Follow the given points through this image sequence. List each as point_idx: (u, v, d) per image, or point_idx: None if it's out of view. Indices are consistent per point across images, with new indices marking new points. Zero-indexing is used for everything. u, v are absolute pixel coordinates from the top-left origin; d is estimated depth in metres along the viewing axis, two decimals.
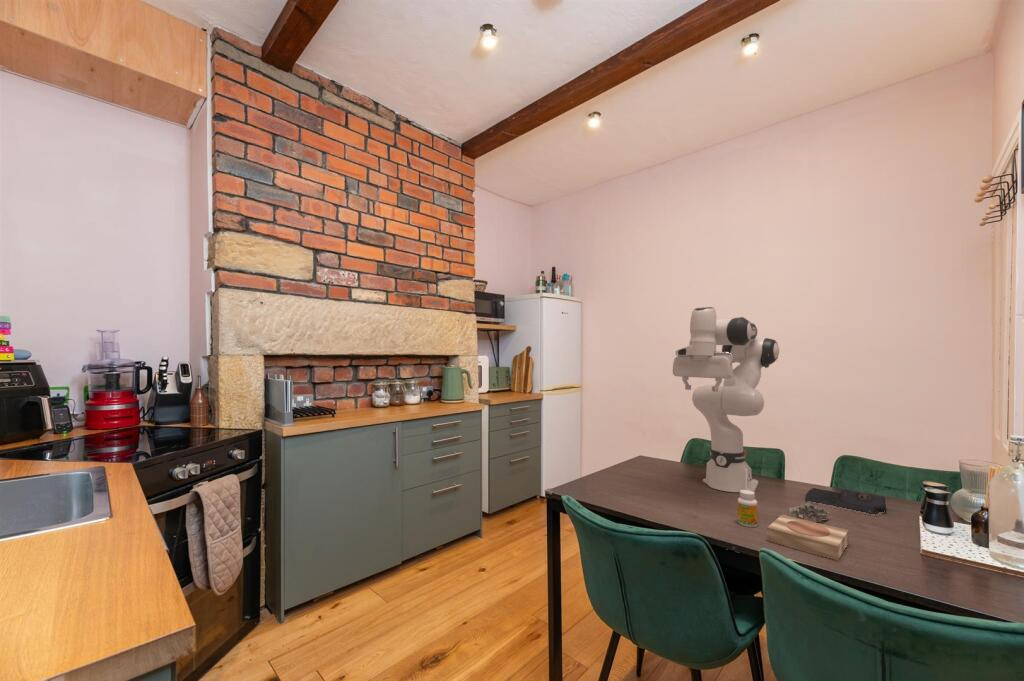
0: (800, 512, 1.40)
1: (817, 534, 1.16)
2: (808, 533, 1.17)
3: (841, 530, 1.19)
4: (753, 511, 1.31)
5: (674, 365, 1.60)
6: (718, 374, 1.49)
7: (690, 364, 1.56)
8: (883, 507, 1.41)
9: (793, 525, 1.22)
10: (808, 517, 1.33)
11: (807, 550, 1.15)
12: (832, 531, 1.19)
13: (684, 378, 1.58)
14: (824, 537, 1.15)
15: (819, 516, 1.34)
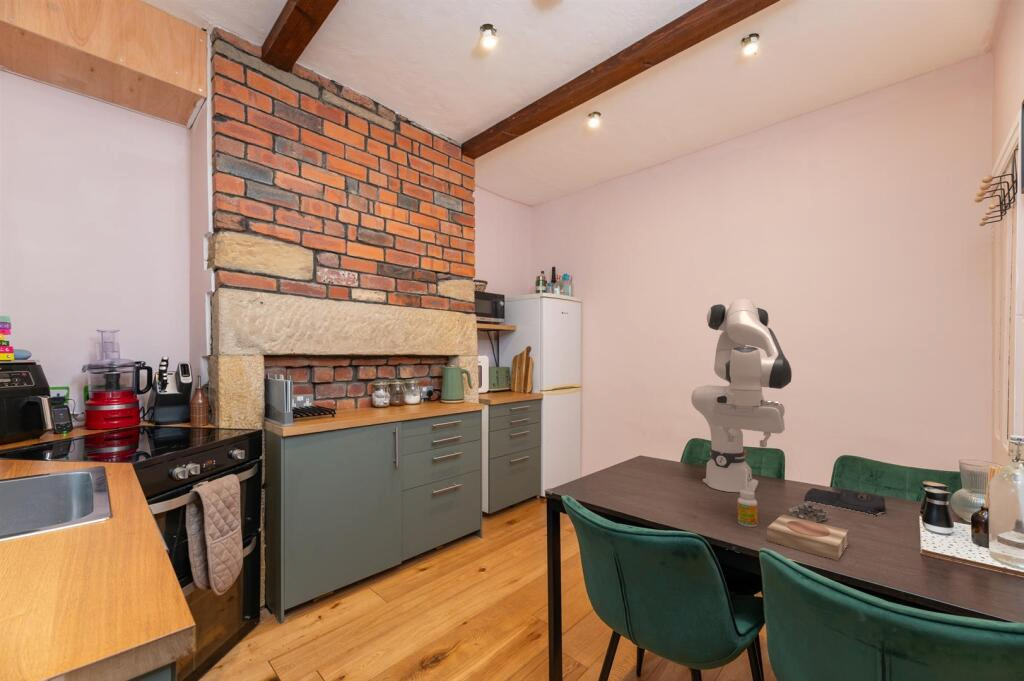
0: (799, 512, 1.40)
1: (817, 534, 1.16)
2: (808, 533, 1.17)
3: (841, 530, 1.19)
4: (753, 511, 1.31)
5: (712, 413, 1.39)
6: (767, 427, 1.28)
7: (732, 414, 1.36)
8: (882, 507, 1.41)
9: (793, 525, 1.22)
10: (808, 517, 1.33)
11: (807, 550, 1.15)
12: (832, 531, 1.19)
13: (725, 429, 1.37)
14: (824, 537, 1.15)
15: (819, 516, 1.34)
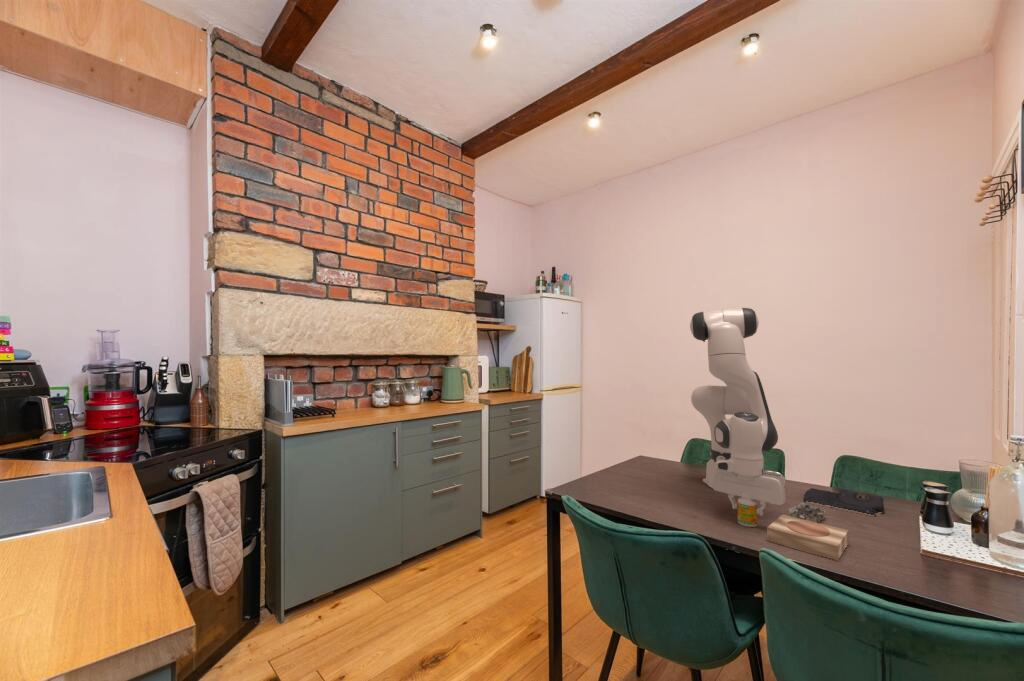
0: (797, 512, 1.40)
1: (817, 534, 1.16)
2: (808, 533, 1.17)
3: (841, 530, 1.19)
4: (753, 511, 1.31)
5: (713, 479, 1.39)
6: (768, 498, 1.28)
7: (733, 480, 1.35)
8: (881, 507, 1.41)
9: (793, 525, 1.22)
10: (809, 517, 1.33)
11: (807, 550, 1.15)
12: (832, 531, 1.19)
13: (731, 496, 1.36)
14: (824, 537, 1.15)
15: (818, 516, 1.34)
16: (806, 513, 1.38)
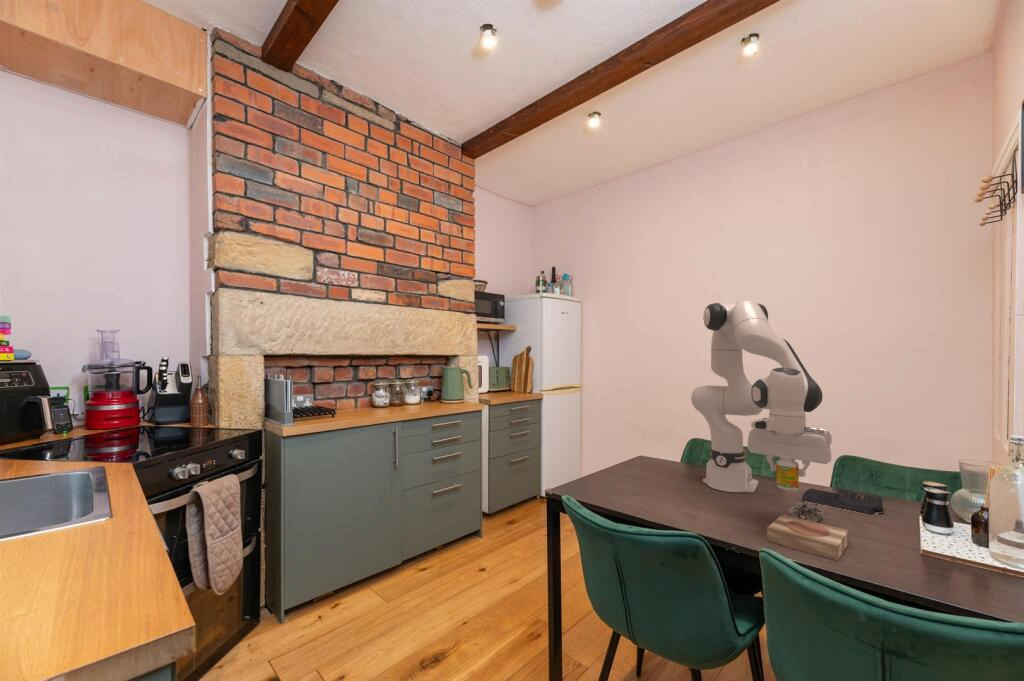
0: None
1: (817, 534, 1.16)
2: (808, 533, 1.17)
3: (841, 530, 1.19)
4: (795, 473, 1.21)
5: (750, 439, 1.30)
6: (812, 457, 1.19)
7: (772, 440, 1.26)
8: (880, 508, 1.41)
9: (793, 525, 1.22)
10: (810, 518, 1.32)
11: (807, 550, 1.15)
12: (832, 531, 1.19)
13: (769, 457, 1.27)
14: (824, 537, 1.15)
15: (818, 515, 1.35)
16: (805, 513, 1.38)
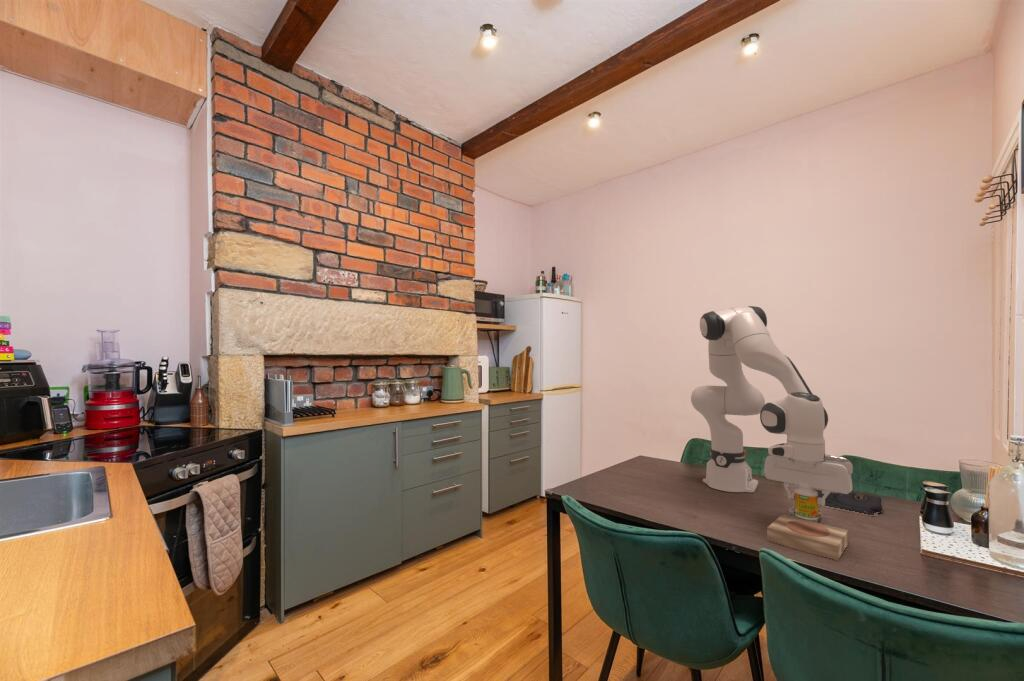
0: None
1: (817, 534, 1.16)
2: (808, 533, 1.17)
3: (841, 530, 1.19)
4: (814, 503, 1.18)
5: (766, 466, 1.26)
6: (832, 486, 1.15)
7: (790, 467, 1.22)
8: (879, 508, 1.41)
9: (793, 525, 1.22)
10: None
11: (807, 550, 1.15)
12: (832, 531, 1.19)
13: (787, 484, 1.23)
14: (824, 537, 1.15)
15: None
16: None
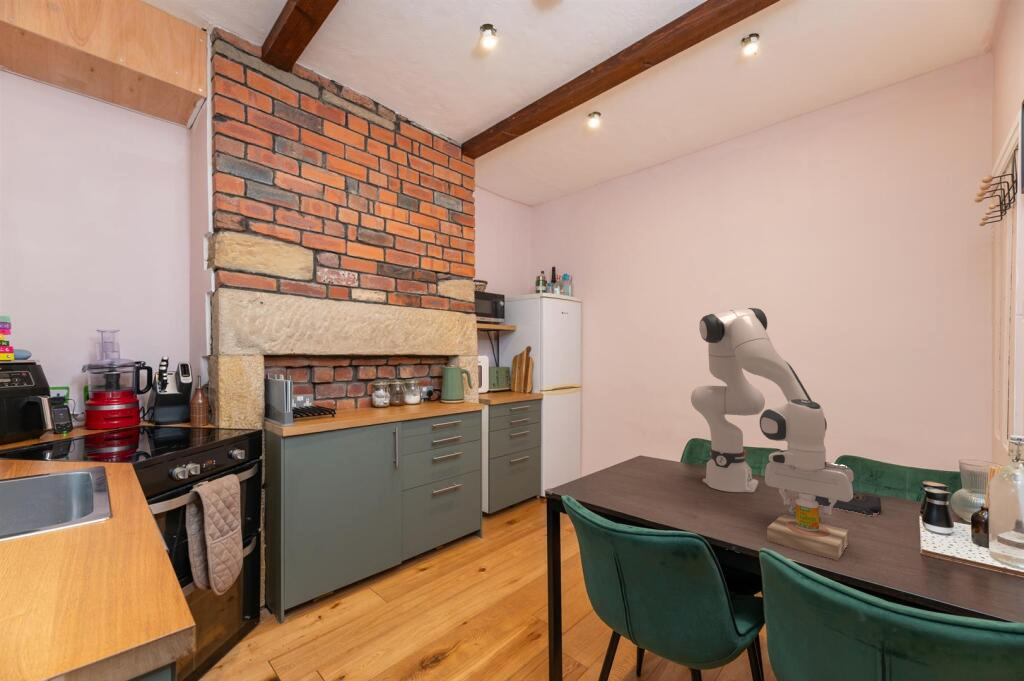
0: None
1: (817, 534, 1.16)
2: (808, 533, 1.17)
3: (841, 530, 1.19)
4: (815, 514, 1.18)
5: (767, 473, 1.26)
6: (833, 494, 1.15)
7: (790, 475, 1.22)
8: (878, 508, 1.41)
9: (793, 525, 1.22)
10: None
11: (807, 550, 1.15)
12: (832, 531, 1.19)
13: (782, 490, 1.24)
14: (824, 537, 1.15)
15: None
16: None
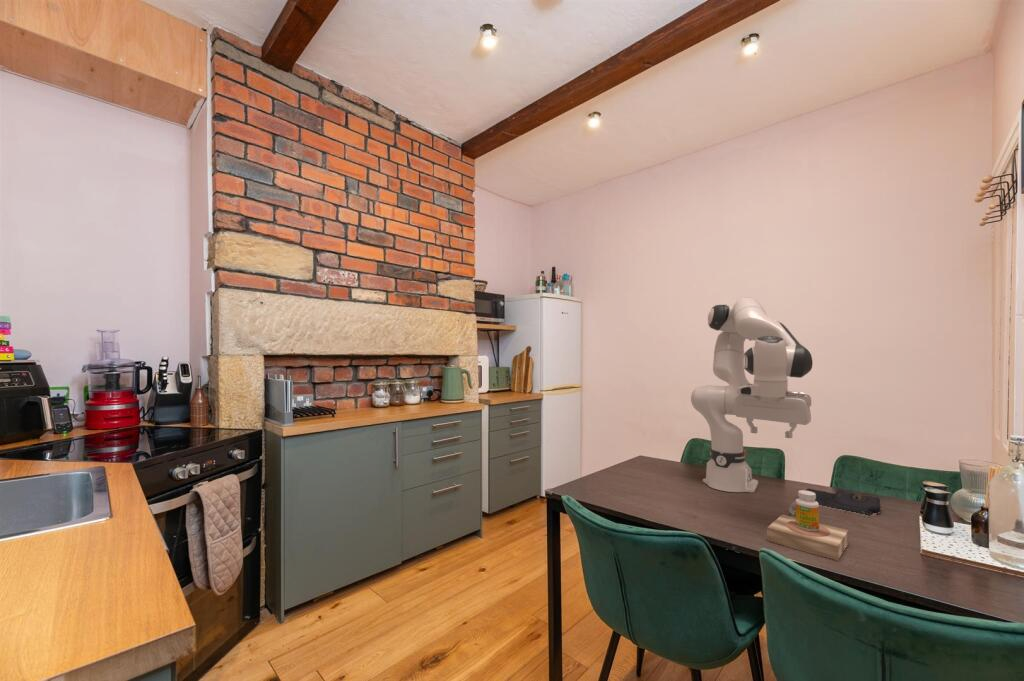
0: None
1: (817, 534, 1.16)
2: (808, 533, 1.17)
3: (841, 530, 1.19)
4: (815, 514, 1.18)
5: (736, 405, 1.37)
6: (793, 419, 1.27)
7: (756, 405, 1.34)
8: (877, 508, 1.41)
9: (793, 525, 1.22)
10: None
11: (807, 550, 1.15)
12: (832, 531, 1.19)
13: (749, 420, 1.36)
14: (824, 537, 1.15)
15: None
16: None
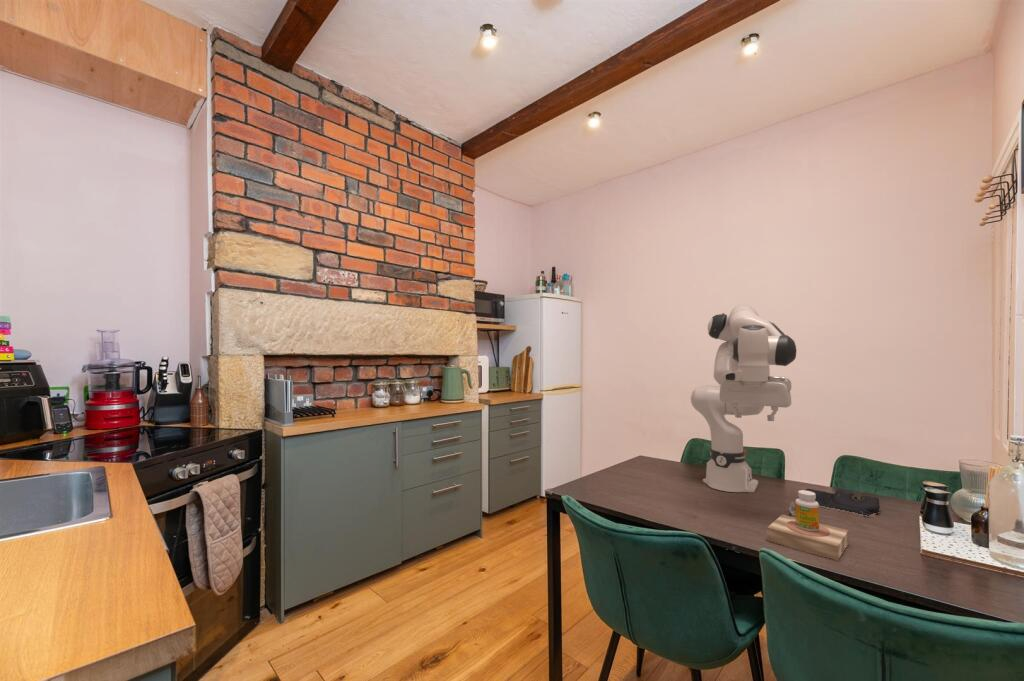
0: (792, 513, 1.39)
1: (817, 534, 1.16)
2: (808, 533, 1.17)
3: (841, 530, 1.19)
4: (815, 514, 1.18)
5: (721, 391, 1.44)
6: (774, 402, 1.33)
7: (740, 390, 1.40)
8: (876, 508, 1.40)
9: (793, 525, 1.22)
10: None
11: (807, 550, 1.15)
12: (832, 531, 1.19)
13: (733, 405, 1.42)
14: (824, 537, 1.15)
15: None
16: None
